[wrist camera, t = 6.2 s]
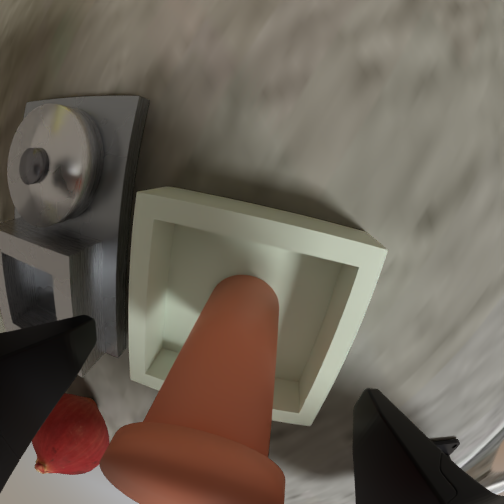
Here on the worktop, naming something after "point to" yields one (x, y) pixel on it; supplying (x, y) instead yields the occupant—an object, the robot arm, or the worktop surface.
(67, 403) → the onion
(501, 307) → the worktop surface
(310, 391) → the tray
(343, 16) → the worktop surface
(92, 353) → the block
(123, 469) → the pin
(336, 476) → the worktop surface
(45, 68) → the worktop surface
